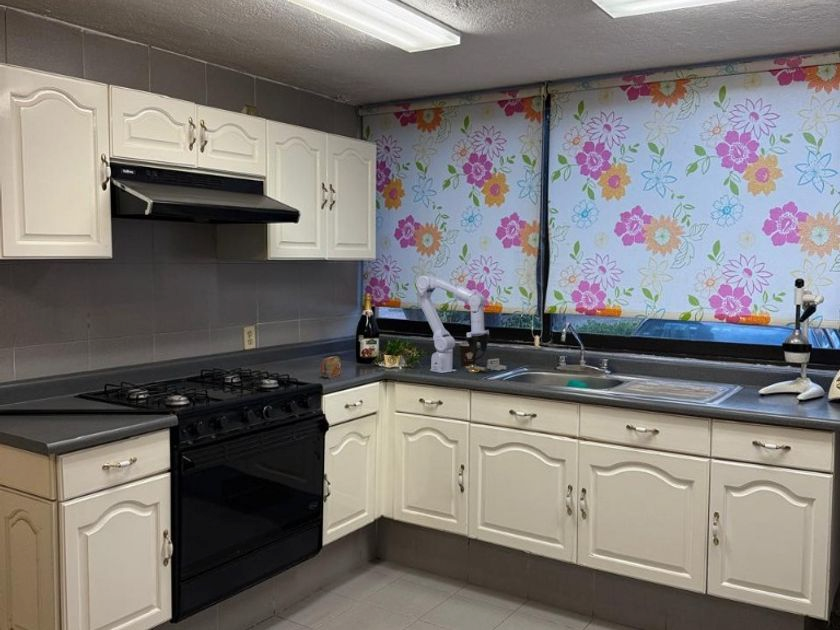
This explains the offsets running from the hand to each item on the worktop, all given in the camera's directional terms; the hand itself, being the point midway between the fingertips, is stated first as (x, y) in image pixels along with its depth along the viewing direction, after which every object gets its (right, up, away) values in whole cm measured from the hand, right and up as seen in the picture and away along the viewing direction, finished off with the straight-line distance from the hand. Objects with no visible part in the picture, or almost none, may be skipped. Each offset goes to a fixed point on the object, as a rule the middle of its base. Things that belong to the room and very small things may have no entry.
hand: (478, 352), depth 332 cm
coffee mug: (-2, -8, +25) cm, 26 cm away
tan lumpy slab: (-63, -10, -12) cm, 65 cm away
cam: (0, -9, +6) cm, 11 cm away
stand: (+9, -9, +16) cm, 21 cm away
